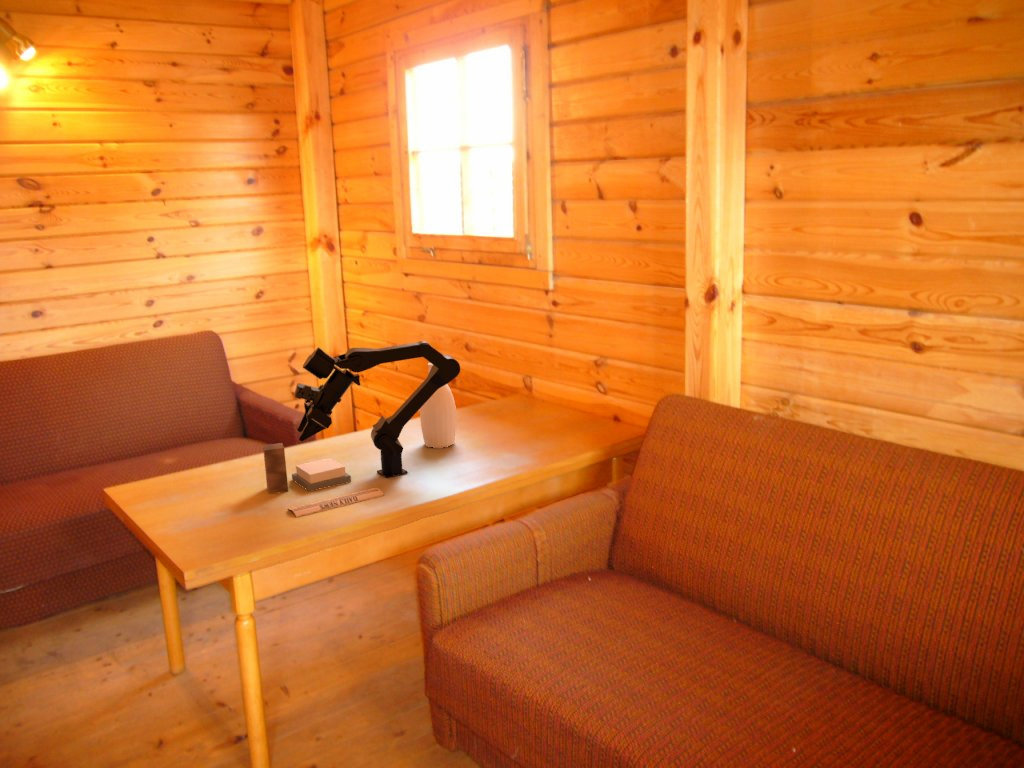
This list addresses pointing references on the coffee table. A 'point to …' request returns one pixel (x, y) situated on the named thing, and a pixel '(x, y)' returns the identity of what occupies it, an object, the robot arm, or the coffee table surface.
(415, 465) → the coffee table surface
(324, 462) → the tower top slab
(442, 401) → the bottle
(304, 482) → the tower base slab
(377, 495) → the newspaper
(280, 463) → the walnut block
